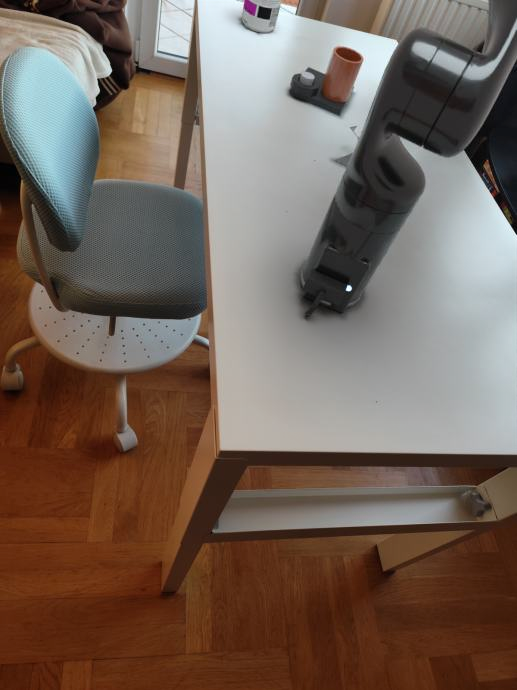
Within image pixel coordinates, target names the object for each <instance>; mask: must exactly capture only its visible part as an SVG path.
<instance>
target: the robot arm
mask: <svg viewBox="0 0 517 690" xmlns="http://www.w3.org/2000/svg"><path fill="white" fill-rule="evenodd" d="M487 2H488V3H487V4H488V10H487V11H488V13H487V14H488V15H487V24H486V25H487V26H486V32H485V33H486V34H485V39H484V43H483V48H482V51H481V52H479V51H476V50H474V49H472V48H470V47H468V46H466V45H463V44H462V43H459V42H457V41H455V40H453V39H451V38H449V37H447V36H444V35H442V34H440V33H438V32H436V31H434V30H431V29H429V28H426V27H422V26H418V27H414V28H412V29H411V30H410V31H408V32H407V33H405V35H404V36H403V37H402V38H401V40H400V41H399V42H398V44H397V45H396V47H395V49H394V50H393V52H392V54H391V56H390V58H389V60H388V62H387V64H386V66H385V67H384V71H383V73H382V76H381V79H380V81H379V84H378V86H377V89H376V91H375V94H374V97H373V100H372V102H371V105H370V108H369V111H368V114H367V116H366V119H365V122H364V124H363V127H362V130H361V133H360V134H359V136H358V137H359V140H358V139H357V142H356V144H355V147H354V149H353V151H352V153H353V154H352V156H351V158H350V161H349V163H348V165H347V166H346V168H345V170H344V172H343V175H342V176H341V179H340V181H339V183H338V186H337V189H336V191H335V193H334V195H333V197H332V200H331V202H330V204H329V206H328V209H327V211H326V213H325V216H324V219H323V220H322V222H321V225H320V228H319V230H318V232H317V235H316V237H315V239H314V241H313V244H312V247H311V248H310V251H309V253H308V256H307V258H306V261H305V262H304V264H303V266H302V268H301V271H300V274H299V275H300V276H299V281H300V285H301V287H302V291H303V294H302V296H303V297H304V298H306V299H308V300H310V301H312V302H313V303H312V304H311V306H310V307H309V308H308V309H307V310H306V311H305V313H304V314H305V316H306V317H311V315H312V314H313V313H314V312H315V311H316V309H317V308H318V307H319V305H322V306H324V307H327V308H329V309H331V310H333V311H336V312H338V313H341V314H344V312H345V311H346V310H347V309H349V308H351V307H353V306H356V304H357V303H358V302H359V300H360V299H361V298H362V296H363V293H364V291H365V289H366V288H367V286H368V285H369V283H370V282H371V280H372V277H374V275H375V273H376V271H377V269H378V268H379V266H380V265H381V263H382V261H383V260H384V258H385V256H386V255H387V253H388V252H389V250H390V248H391V246H392V245H393V243H394V241H395V240H396V238H397V237H398V235H399V233H400V232H401V230H402V229H403V227H404V225H405V223H406V222H407V220H408V219H409V216H410V215H411V213H412V212H413V210H414V208H415V207H416V205H417V204H418V202H419V201H420V199H421V197H422V195H423V194H424V192H425V188H426V184H427V183H426V182H427V179H426V175H425V172H424V169H422V166H421V165H420V164H419V163H418V161H417V160H416V159H415V157H413V156H412V154H411V153H410V152H409V150H408V149H407V148H406V146H404V144H403V142H402V140H401V138H402V139H403V140H406V141H408V142H410V143H412V144H414V145H416V146H418V147H420V148H422V149H424V150H426V151H428V152H430V153H433V154H435V155H437V156H439V157H443V158H446V159H447V158H448V159H450V158H453V157H457V156H458V155H460V154H461V153H462V152H464V150H465V149H466V148H467V147H468V146H469V145H470V144H471V143H472V141H473V140H474V138H476V136H477V134H478V132H479V131H480V130H481V128H482V127H483V125H484V123H485V122H486V120H487V118H488V116H489V114H490V112H491V110H492V109H493V106H495V105H494V104H495V103H496V102H497V99H498V97H499V96H500V93H501V91H502V89H503V88H504V86H505V83H506V81H507V80H508V77H509V75H510V74H511V71H512V70H513V67H514V65H515V63H516V62H517V0H487ZM308 314H309V315H308Z"/></svg>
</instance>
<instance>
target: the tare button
mask: <svg viewBox="0 0 517 690" xmlns="http://www.w3.org/2000/svg"><path fill="white" fill-rule="evenodd" d="M300 73H301V76H300V80H299V82H301V83H302V84H304V85H308V86H312V84H313V81H314V78H315V77H314V75H313V74H311V73H309V72H305V71H302V72H300Z"/></svg>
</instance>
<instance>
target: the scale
mask: <svg viewBox="0 0 517 690" xmlns="http://www.w3.org/2000/svg"><path fill="white" fill-rule="evenodd" d="M304 72H309V73H311V74H313V75H314V77H315V78H314V81H313V84H312V86H308V85H304V84H302V83H301V82H299V80H300V76H301V73H302V72H300V73H294V74H293V75H292V77H291V81H290V84H289V86H290V88H291V92H290V96H291V97H294V98H296V99H299V100H301V101H303V102H305V103H307V104H310V105H313V106H315V107H317V108H320V109H321V110H324V111H327V112H329V113H332V114H334V115H335V116H339V117H341V115H342V113H343V110H344V109H345V107H346V105H347V103H348V101H346V102H335V101H332V100H329V99H327V98H326V97H325V96H323V95H322V93H321V86H322V83H323V80H324V76H325V73H324V72H321V71H320V70H316V69H314V68H311V67H310V66H307V68H306V70H305V71H304ZM354 89H355V85H354V86H353V89H352V91H351V94H350V96H349V98H350V97H351V95H352V93H353V92H354Z"/></svg>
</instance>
